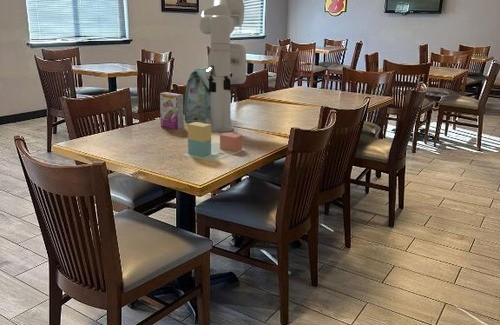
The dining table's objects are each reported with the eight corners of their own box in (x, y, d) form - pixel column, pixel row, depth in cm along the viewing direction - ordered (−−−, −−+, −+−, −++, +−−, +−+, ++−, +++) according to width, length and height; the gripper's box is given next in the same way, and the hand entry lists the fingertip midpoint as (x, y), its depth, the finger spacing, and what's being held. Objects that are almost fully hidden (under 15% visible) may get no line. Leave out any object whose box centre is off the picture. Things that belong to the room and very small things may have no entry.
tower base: (188, 153, 182) (187, 124, 178) (196, 150, 186) (195, 121, 182) (203, 157, 178) (203, 126, 174) (211, 154, 182) (211, 124, 178)
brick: (219, 148, 189) (220, 134, 187) (226, 146, 193) (227, 132, 191) (235, 152, 185) (235, 137, 184) (241, 149, 189) (242, 135, 188)
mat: (181, 155, 180) (181, 154, 180) (215, 143, 198) (215, 142, 198) (214, 163, 172) (214, 162, 172) (246, 149, 190) (246, 149, 190)
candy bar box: (160, 126, 225) (158, 93, 220) (167, 124, 229) (166, 91, 224) (177, 130, 219) (176, 95, 214) (184, 128, 223) (183, 94, 218)
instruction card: (207, 155, 180) (207, 155, 180) (216, 152, 185) (216, 151, 185) (220, 158, 177) (220, 157, 177) (229, 154, 182) (229, 154, 182)
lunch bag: (210, 125, 231) (210, 70, 223) (181, 121, 236) (180, 68, 228) (228, 116, 251) (228, 66, 243) (200, 113, 257) (200, 64, 248)
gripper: (225, 47, 192) (224, 88, 197) (198, 47, 178) (199, 92, 183) (240, 47, 188) (239, 89, 193) (214, 48, 175) (214, 93, 179)
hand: (219, 91), depth 188 cm, fingers open, 9 cm apart
